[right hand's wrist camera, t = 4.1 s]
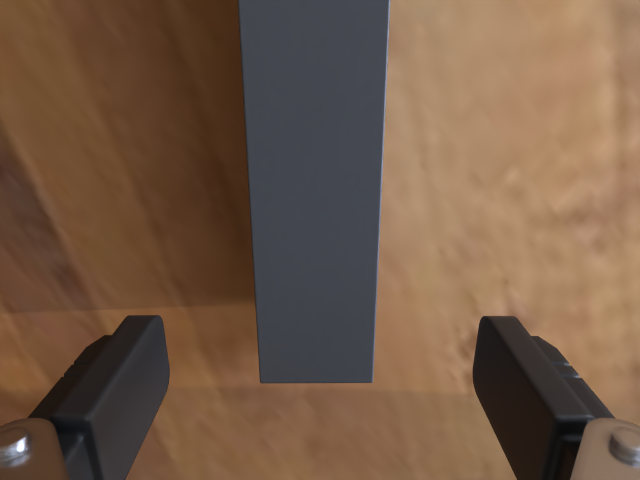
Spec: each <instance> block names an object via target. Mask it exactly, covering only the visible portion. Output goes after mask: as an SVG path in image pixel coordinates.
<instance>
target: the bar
mask: <svg viewBox="0 0 640 480" xmlns="http://www.w3.org/2000/svg"><path fill="white" fill-rule="evenodd" d="M238 13H239V31H240V48H241V65H242V82H243V99H244V116H245V133H246V150H247V167H248V184H249V202H250V219H251V236H252V253H253V270H254V287H255V304H256V321H257V338H258V355H259V372H260V383H372V382H373V368H374V346H375V324H376V303H377V281H378V259H379V237H380V215H381V193H382V171H383V149H384V127H385V105H386V83H387V61H388V39H389V17H390V0H238Z"/></svg>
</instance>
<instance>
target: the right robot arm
mask: <svg viewBox="0 0 640 480" xmlns="http://www.w3.org/2000/svg"><path fill="white" fill-rule="evenodd" d="M169 376H170V369H169V361H168V354H167V347H166V340H165V333H164V326H163V321H162V318H161V317H160V316H158V315H129V316H127V317H126V318H125V319H124V320H123V322H122V323H121V324H120V325H119V327H118V328H117V329H116V331H115V332H114V333H113V335H104V336H103V337H101V338H100V339H98V340H97V341H95V342H94V343H92V344H91V345H89V346H88V347H86V348H85V349H84V351H83V352H82V353H81V354H80V355H79V357H78V358H77V359H76V360H75V361H74V365H71V366H70V368H69V369H68V370H67V371H66V372H65V374H64V377H61V378H60V380H59V381H58V382H57V383H56V384H55V386H54V387H53V388H52V389H51V390H50V392H49V393H48V394H47V395H46V396H45V398H44V399H43V400H42V401H41V402H40V404H39V405H38V406H37V407H36V408H35V410H34V411H33V412H32V413H31V414H30V416H29V417H28V418H26V419H20V420H16V421H13V422H10V423H7V424H4V425H2V426H0V480H125V479H126V477H127V475H128V473H129V471H130V468H131V466H132V464H133V462H134V460H135V458H136V456H137V454H138V451H139V449H140V447H141V445H142V443H143V441H144V439H145V437H146V434H147V432H148V430H149V428H150V426H151V424H152V422H153V420H154V418H155V415H156V413H157V411H158V409H159V407H160V405H161V403H162V401H163V398H164V396H165V394H166V392H167V388H168V384H169ZM473 383H474V388H475V392H476V394H477V396H478V399H479V401H480V403H481V405H482V407H483V409H484V411H485V413H486V415H487V417H488V420H489V422H490V424H491V426H492V428H493V430H494V432H495V434H496V436H497V438H498V440H499V443H500V445H501V447H502V449H503V451H504V453H505V455H506V457H507V459H508V461H509V464H510V466H511V468H512V470H513V472H514V474H515V476H516V478H517V480H640V426H638V425H636V424H633V423H630V422H627V421H624V420H620V419H616V418H615V417H614V416H613V415H612V414H611V412H610V411H609V410H608V409H607V408H606V407H605V405H604V404H603V403H602V402H601V401H600V399H599V398H598V397H597V396H596V395H595V393H594V392H593V391H592V390H591V389H590V387H589V386H588V385H587V384H586V383H585V381H584V380H583V379H582V378H579V374H578V373H577V372H576V371H575V370H574V368H573V367H572V366H569V362H568V361H567V360H566V359H565V358H564V356H563V355H562V354H561V353H560V352H559V351H558V349H557V348H555V347H554V346H552V345H551V344H549V343H548V342H546V341H545V340H543V339H542V338H540V337H538V336H530V334H529V333H528V332H527V330H526V329H525V328H524V327H523V325H522V324H521V323H520V322H519V320H518V319H517V318H516V317H514V316H483V317H482V318H481V320H480V323H479V329H478V336H477V343H476V350H475V357H474V364H473Z"/></svg>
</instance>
